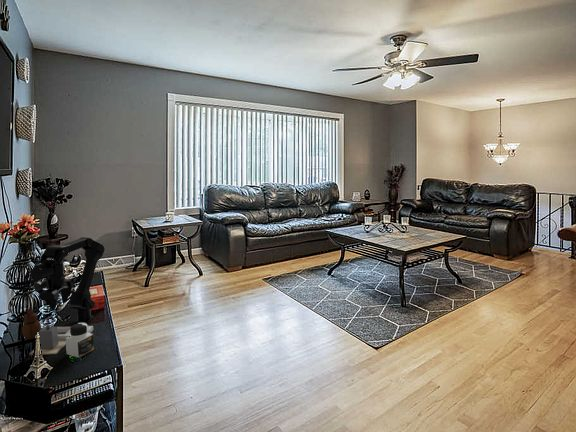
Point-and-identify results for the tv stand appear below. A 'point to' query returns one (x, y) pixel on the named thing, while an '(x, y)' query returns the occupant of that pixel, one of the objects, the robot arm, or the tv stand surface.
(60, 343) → the pad
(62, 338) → the power strip
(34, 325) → the wooden figurine
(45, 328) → the charger
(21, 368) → the tv stand surface
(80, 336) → the medicine bottle
